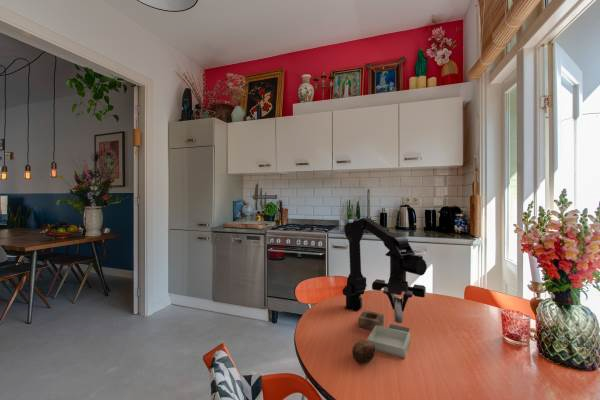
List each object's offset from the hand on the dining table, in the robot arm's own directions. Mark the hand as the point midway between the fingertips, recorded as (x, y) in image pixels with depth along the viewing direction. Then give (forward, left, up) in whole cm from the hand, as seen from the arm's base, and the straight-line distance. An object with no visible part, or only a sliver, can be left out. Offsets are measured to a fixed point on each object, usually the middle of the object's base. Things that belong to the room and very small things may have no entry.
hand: (398, 310), depth 103 cm
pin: (0, 0, -4) cm, 4 cm away
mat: (0, 0, -8) cm, 8 cm away
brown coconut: (-6, -25, -8) cm, 27 cm away
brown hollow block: (-10, -1, -8) cm, 13 cm away
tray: (-1, -12, -8) cm, 14 cm away
